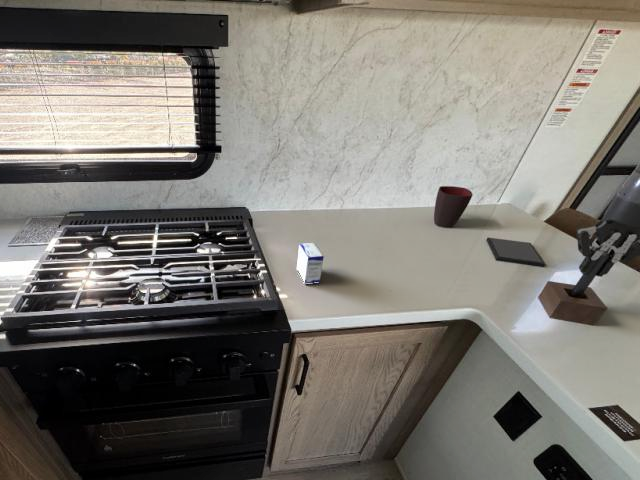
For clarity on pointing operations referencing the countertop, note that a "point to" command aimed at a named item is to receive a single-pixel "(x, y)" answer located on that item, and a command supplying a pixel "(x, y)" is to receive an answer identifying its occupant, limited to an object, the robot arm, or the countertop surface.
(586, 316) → the pen holder
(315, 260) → the box
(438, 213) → the cup
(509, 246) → the tablet
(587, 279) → the stylus
